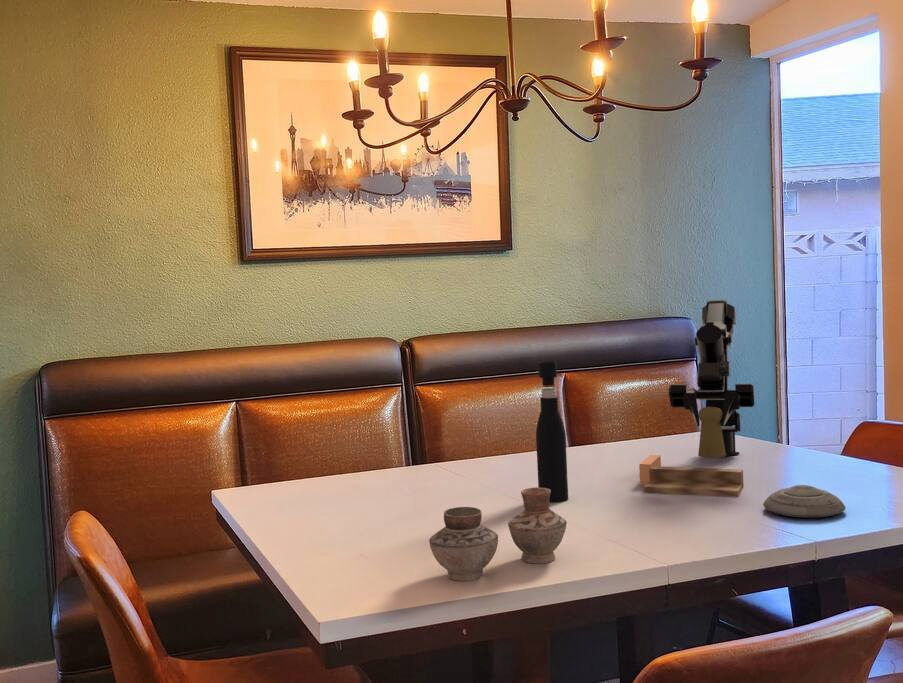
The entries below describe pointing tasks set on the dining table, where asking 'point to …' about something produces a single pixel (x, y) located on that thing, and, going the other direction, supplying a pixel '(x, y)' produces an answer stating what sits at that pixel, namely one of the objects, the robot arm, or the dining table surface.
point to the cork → (711, 433)
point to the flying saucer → (804, 502)
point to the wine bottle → (551, 438)
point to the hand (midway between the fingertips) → (710, 425)
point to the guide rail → (689, 479)
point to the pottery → (474, 545)
